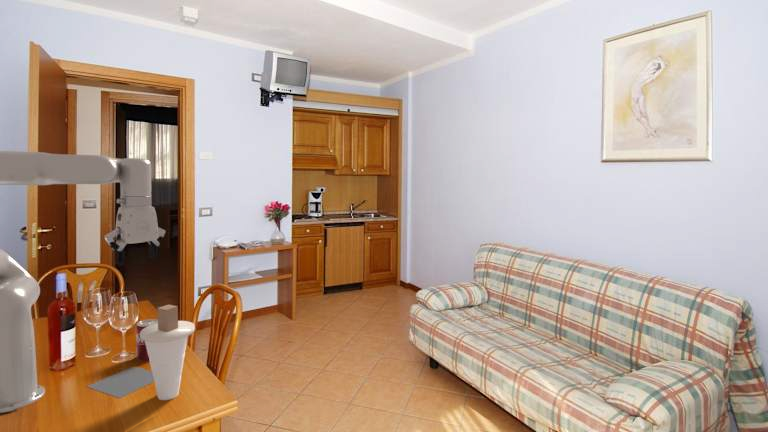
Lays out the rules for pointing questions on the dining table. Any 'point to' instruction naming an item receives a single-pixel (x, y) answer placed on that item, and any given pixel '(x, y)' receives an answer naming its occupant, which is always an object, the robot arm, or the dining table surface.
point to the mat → (124, 382)
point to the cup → (167, 366)
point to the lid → (167, 326)
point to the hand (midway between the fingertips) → (137, 261)
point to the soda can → (140, 343)
